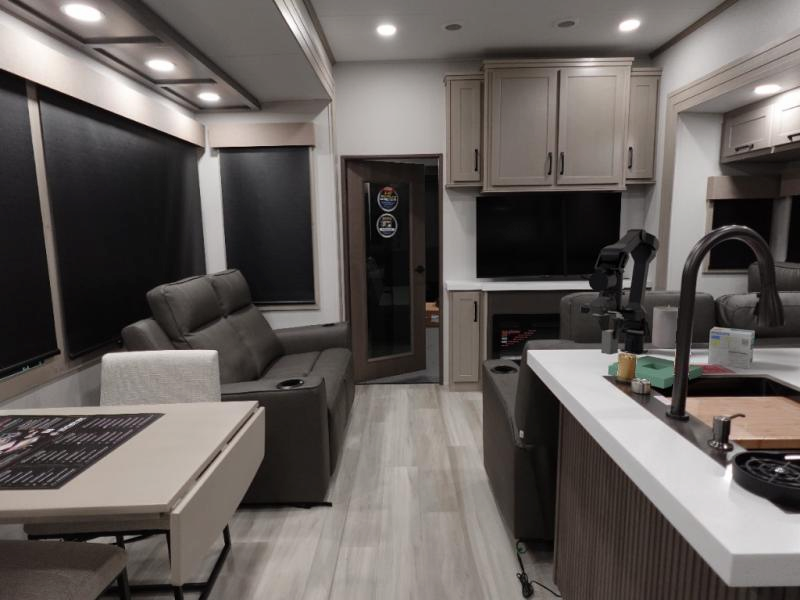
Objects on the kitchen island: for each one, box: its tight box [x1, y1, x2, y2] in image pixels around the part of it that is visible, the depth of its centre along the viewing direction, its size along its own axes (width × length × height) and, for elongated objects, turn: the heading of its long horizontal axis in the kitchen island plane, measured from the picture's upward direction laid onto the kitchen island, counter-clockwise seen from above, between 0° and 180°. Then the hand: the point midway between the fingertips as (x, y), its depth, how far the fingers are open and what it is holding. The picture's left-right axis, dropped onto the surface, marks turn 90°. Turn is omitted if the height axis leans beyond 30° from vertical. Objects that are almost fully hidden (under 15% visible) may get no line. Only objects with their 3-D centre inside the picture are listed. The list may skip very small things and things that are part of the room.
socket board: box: [607, 355, 704, 389], centre depth 136 cm, size 20×16×2 cm
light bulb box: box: [707, 326, 756, 370], centre depth 145 cm, size 11×7×11 cm, turn 47°
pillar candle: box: [651, 304, 679, 350], centre depth 169 cm, size 10×10×15 cm
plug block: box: [600, 328, 619, 355], centre depth 148 cm, size 4×3×7 cm
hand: (610, 338), depth 148 cm, fingers closed on plug block, 3 cm apart
